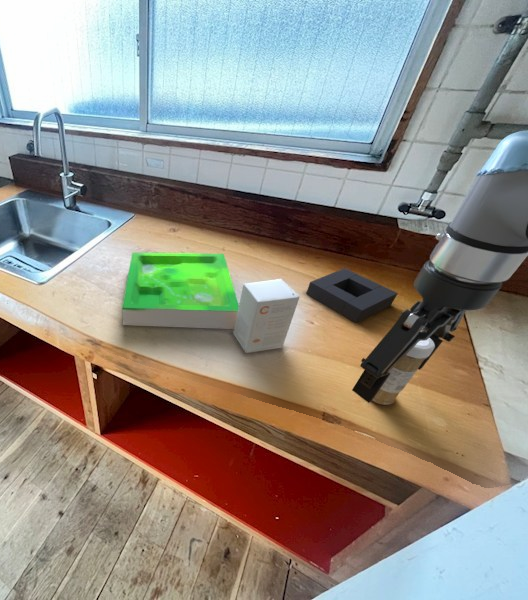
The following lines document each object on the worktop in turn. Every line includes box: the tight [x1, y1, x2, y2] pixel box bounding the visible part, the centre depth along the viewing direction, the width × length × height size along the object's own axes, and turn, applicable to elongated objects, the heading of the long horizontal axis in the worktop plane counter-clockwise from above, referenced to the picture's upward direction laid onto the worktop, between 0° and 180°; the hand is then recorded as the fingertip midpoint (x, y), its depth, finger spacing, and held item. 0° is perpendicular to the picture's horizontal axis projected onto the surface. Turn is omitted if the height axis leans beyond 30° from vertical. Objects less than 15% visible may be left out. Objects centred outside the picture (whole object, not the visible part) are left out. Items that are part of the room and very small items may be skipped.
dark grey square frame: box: [305, 267, 399, 324], centre depth 76 cm, size 13×13×4 cm
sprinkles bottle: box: [371, 338, 435, 406], centre depth 51 cm, size 5×5×14 cm
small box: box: [233, 278, 300, 354], centre depth 63 cm, size 8×6×13 cm
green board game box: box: [121, 252, 239, 330], centre depth 80 cm, size 25×25×5 cm
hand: (387, 379), depth 53 cm, fingers open, 13 cm apart
